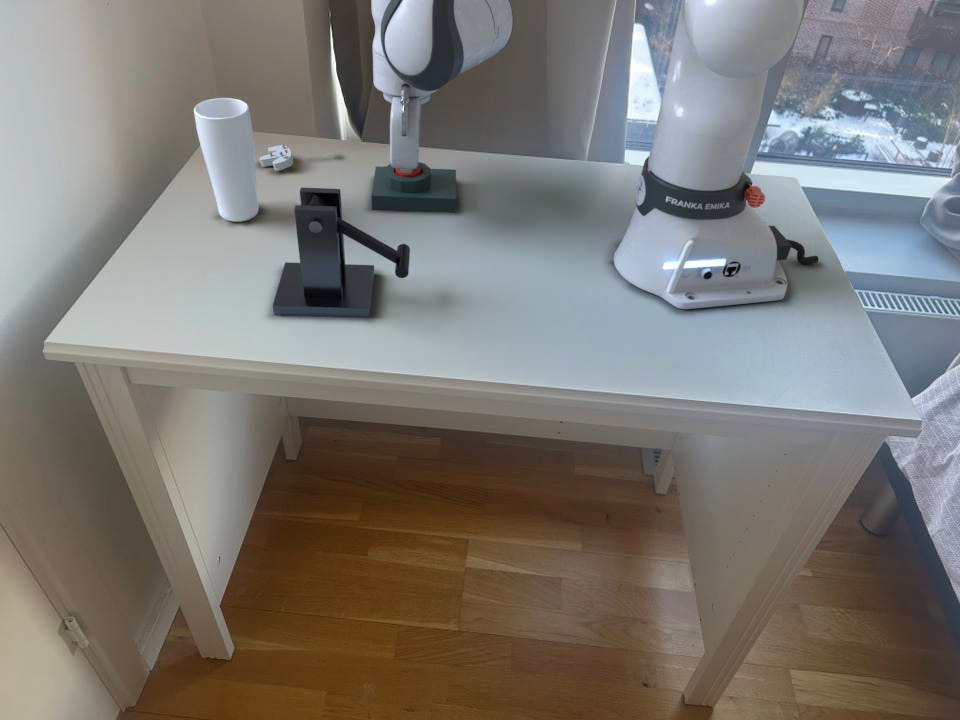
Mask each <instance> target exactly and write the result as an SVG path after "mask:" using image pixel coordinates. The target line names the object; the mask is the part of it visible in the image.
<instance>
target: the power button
mask: <svg viewBox="0 0 960 720" xmlns="http://www.w3.org/2000/svg"><path fill="white" fill-rule="evenodd" d="M420 174H421V169H420V167H419V166H418V167H417V168H416V169H413V171H412V173H410V174H409V173H401V172H400V169H397V168H396V175H398V176H401V177H416V176H419V175H420Z"/></svg>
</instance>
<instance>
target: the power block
mask: <svg viewBox="0 0 960 720" xmlns="http://www.w3.org/2000/svg"><path fill="white" fill-rule="evenodd" d="M418 166H419V167H420V169H421V174H420V175H419V176H416V177H401V176H398V175H396V168H393V167H392V166H391V163H390V164H388V165H387V166H380V165H379V166H378V165H377V166H376V165H375V169H374V176H373V181H372V189H371V195H370V197H371V198H370V199H371V210H377V211H378V210H380V211H381V210H382V211H405V212H406V211H407V212H433V213H436V212H437V213H457V203H458V202H457V201H458V199H457V169H452V168H451V169H450V168H431V167H429V166H428V164H426V163H424V162H420V161H419V162H418Z"/></svg>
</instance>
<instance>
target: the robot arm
mask: <svg viewBox="0 0 960 720" xmlns="http://www.w3.org/2000/svg"><path fill="white" fill-rule="evenodd" d="M370 2H371V3H370V6H371V7H370V8H371V9H370V10H371V15H372V19H373V23H374V37H373V40H372V78H373V79H372V80H373V86H374V88H375V89H376V90H378V91H379V92H382V96H383V99H384V100H385V101H387V102H388V103H390V104H391V107H390V115H389V163H390V164H391V166H392V167H393V168H397V169H400V172H401V173H409V174H410V173H412V171H413V169H416V168H417V167H418V162H420V160H419V159H420V141H421V140H420V138H421V122H422V121H421V120H422V106H423V105H424V104H426V103H428V102H429V101H430V99H431V94H434V93H436V92H437V91H439V90H440V89H441V88H443V87H444V86H446V85H447V84H448V83H450V82H451V81H452V80H454V79H455V78H457V76H458V75H461V74H463V73H465V72H466V71H468V70H470V69H472V68H474V67H476V66H478V65H480V64H481V63H483V62H485V61H487V60H488V59H490V58H492V57H493V56H495V55H496V54H498V53H499V52H501V51H502V50H504V49H505V48H506V46H507V45H508V43H509V42H510V40H511V38H512V34H513V29H514V11H513V6H512V3H511V0H370ZM804 3H805V0H682V1H681V6H680V10H679V15H678V19H677V25H676V30H675V34H674V39H673V44H672V49H671V54H670V58H669V63H668V69H667V73H666V79H665V83H664V88H663V94H662V98H661V101H660V108H659V111H658V116H657V120H656V125H655V129H654V132H653V133H654V135H653V138H652V142H651V147H650V150H649V151H650V152H649V155H648V156H647V158H646V159H645V160H644V163H643V166H642V170H641V174H640V176H639V179H638V183H637V186H636V187H637V188H636V193H635V207H634V210H633V213H632V217H631V219H630V222H629V224H628V226H627V230H626V232H625V234H624V235H623V237H622V240H621V241H620V243H619V245H618V247H617V248H616V250H615V252H614V254H613V264H614V267H615V269H616V270H617V272H618V273H619V274H620V275H621V277H622V278H623V279H625V280H626V281H627V282H628V283H630V284H631V285H633V286H635V287H637V288H639V289H640V290H643V291H645V292H647V293H650V294H653V295H656V296H658V297H660V298H662V299H663V300H664V301H666V302H667V303H668V304H670V305H671V306H673V307H675V308H677V309H680V310H692V309H704V308H715V307H724V306H735V305H744V304H755V303H756V304H757V303H764V302H766V303H767V302H775V301H781V300H783V299H785V297H786V293H787V290H788V279H787V275H786V272H785V270H784V269H783V266H782V265H781V263H780V262H779V261H786V260H788V256H789V254H790V251H791V249H794V250H795V251H796V260H797V262H798V263H800V264H801V265H811V264H817V263H818V262H819V257H818V256H817V255H811V256H805V255H806V250H805V247H804V246H803V244H801V243H800V242H799V241H795V240H792V239H787V238H785V236H784V234H782V232H781V231H780V230H779V229H778V228H777V227H776V226H775V225H769V224H768V223H767V222H766V221H765V219H764V218H763V216H761V215H760V214H759V213H758V212H757V211H756V210H755V209H757V208H760V207H761V206H763V205H764V202H766V195H765V193H763V192H762V190H761V188H760V187H759V186H757V185H753V181H752V179H751V178H750V176H749V175H747V174H746V173H745V172H743V169H744V167H745V164H746V162H747V157H748V154H749V151H750V148H751V145H752V141H753V139H754V135H755V132H756V129H757V126H758V123H759V121H760V120H759V119H760V117H761V111H762V105H763V100H764V95H765V90H766V85H767V80H768V75H769V71H770V69H771V68H772V67H774V66H775V65H777V64H778V63H779V62H780V61H781V60H782V59H783V57H785V56H786V54H787V53H788V52H789V50H790V49H791V47H792V45H793V43H794V41H795V39H796V37H797V34H798V33H799V29H800V26H801V23H802V18H803V13H804V5H805V4H804Z"/></svg>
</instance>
